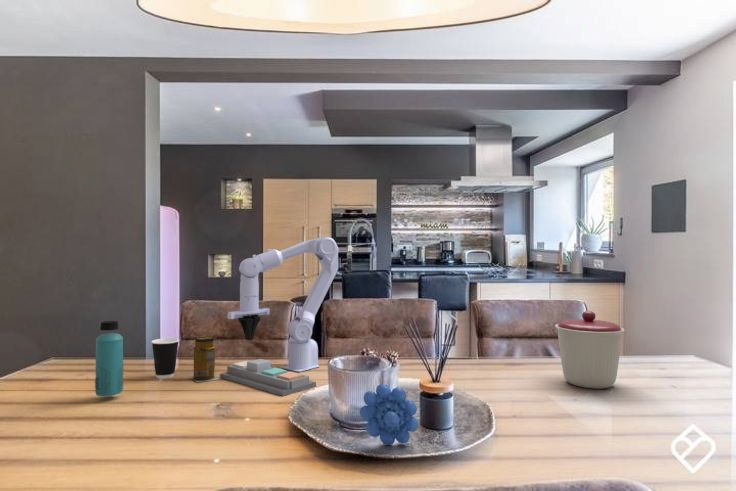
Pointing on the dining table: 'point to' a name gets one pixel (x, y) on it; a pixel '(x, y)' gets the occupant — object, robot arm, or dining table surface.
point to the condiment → (204, 360)
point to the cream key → (241, 364)
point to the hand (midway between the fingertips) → (249, 339)
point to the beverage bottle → (109, 361)
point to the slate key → (258, 365)
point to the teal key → (274, 372)
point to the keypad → (267, 381)
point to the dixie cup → (165, 356)
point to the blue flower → (389, 414)
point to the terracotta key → (290, 376)
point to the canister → (589, 351)
